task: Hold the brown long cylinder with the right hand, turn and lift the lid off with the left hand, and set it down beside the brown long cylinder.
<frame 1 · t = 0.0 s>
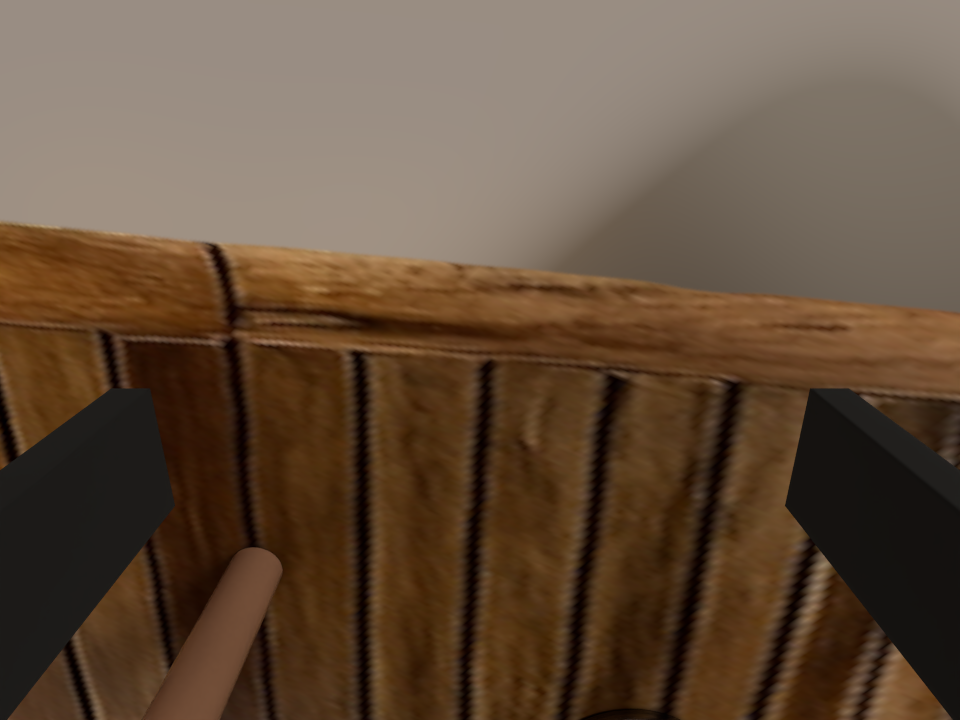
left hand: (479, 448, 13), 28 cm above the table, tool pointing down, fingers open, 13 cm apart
brown long cylinder: (256, 568, 48), on the table
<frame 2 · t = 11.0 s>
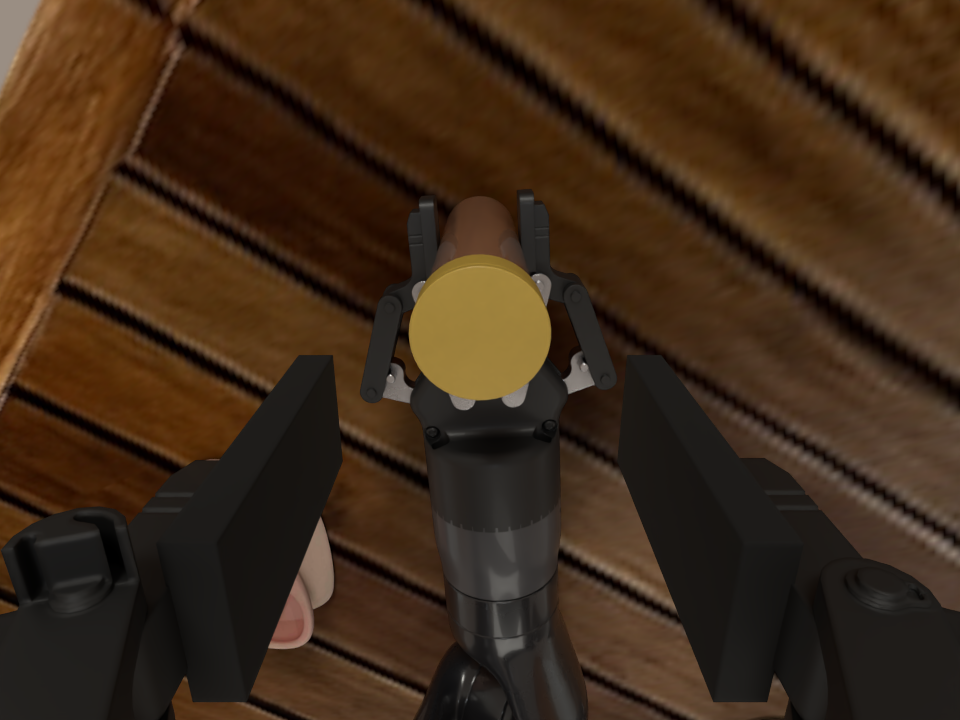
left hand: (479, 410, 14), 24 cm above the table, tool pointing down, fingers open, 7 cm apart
right hand: (475, 196, 30), fingers closed on brown long cylinder, 4 cm apart
anatomical model: (254, 538, 44), on the table
lid: (480, 332, 19), point 18 cm above the table, screwed on, not yet turned
brown long cylinder: (479, 231, 36), on the table, touching right hand
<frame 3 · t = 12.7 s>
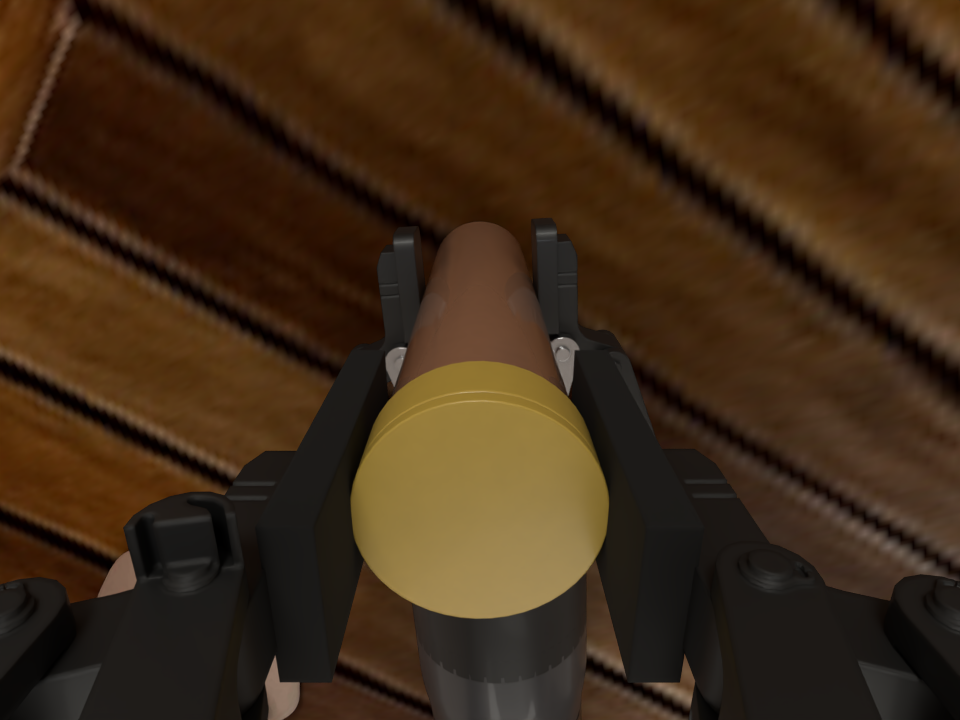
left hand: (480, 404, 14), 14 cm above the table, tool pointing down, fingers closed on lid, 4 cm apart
anatomical model: (200, 640, 36), on the table
lid: (479, 506, 11), point 18 cm above the table, screwed on, not yet turned, touching left hand
brown long cylinder: (480, 266, 28), on the table, touching right hand
when the left hand's fingers open (15 cm above the table, at t = 13.9 s): lid stays where it is, point 19 cm above the table.
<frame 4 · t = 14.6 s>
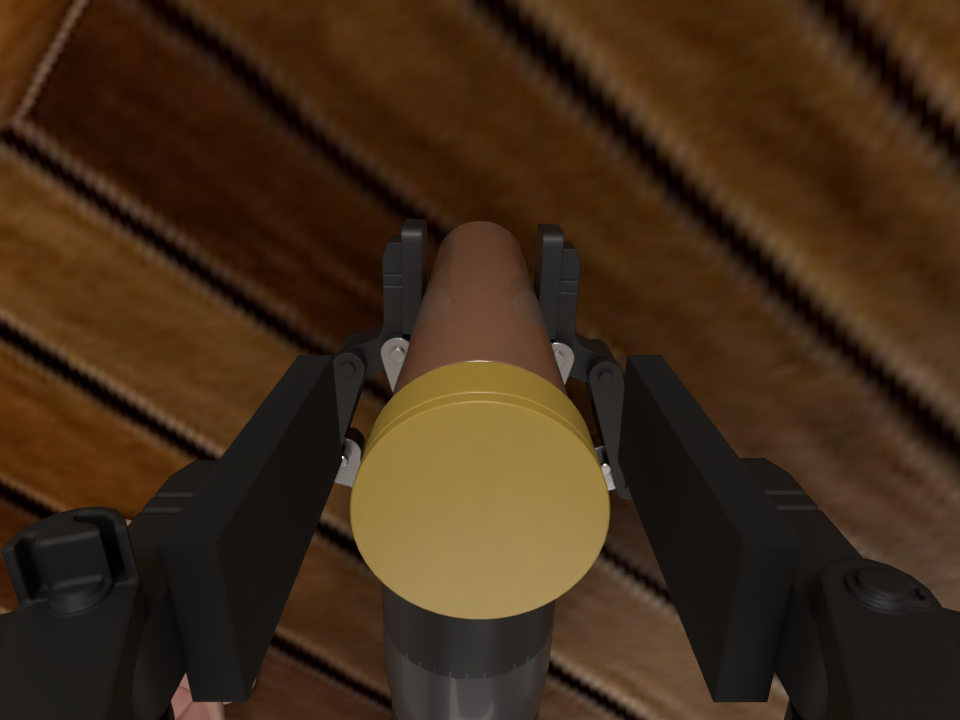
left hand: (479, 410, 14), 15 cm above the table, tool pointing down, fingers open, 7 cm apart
anatomical model: (160, 614, 35), on the table
lid: (479, 507, 11), point 19 cm above the table, turned 77° so far, risen 0.2 cm, still on its thread
brown long cylinder: (479, 265, 28), on the table, touching right hand
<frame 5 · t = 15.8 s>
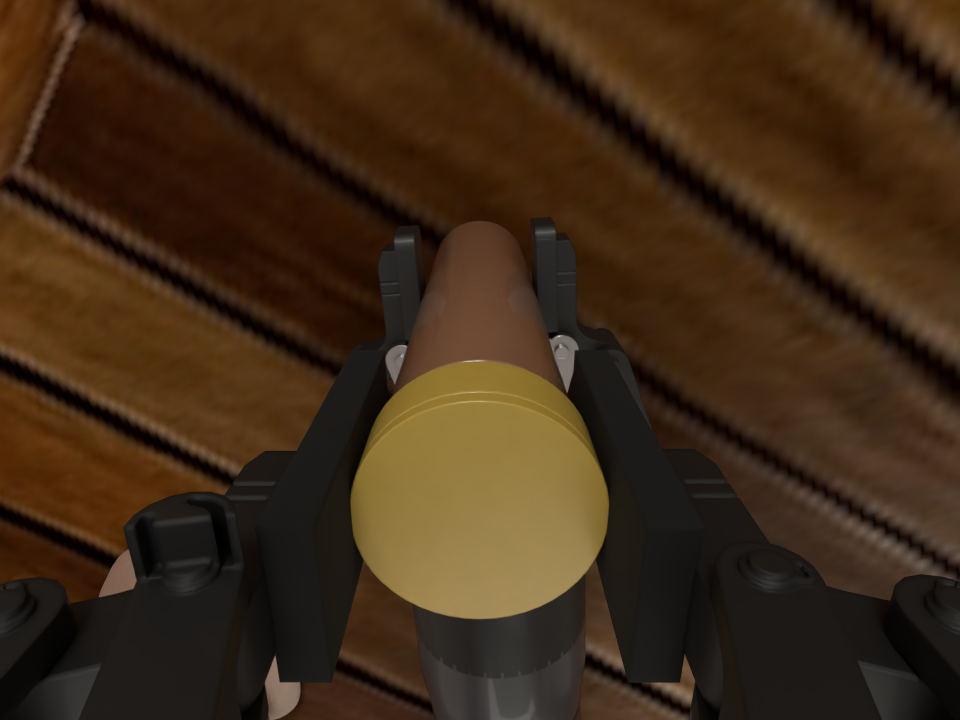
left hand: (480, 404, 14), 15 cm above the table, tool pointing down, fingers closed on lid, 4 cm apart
anatomical model: (201, 637, 36), on the table
lid: (479, 506, 11), point 19 cm above the table, turned 77° so far, risen 0.2 cm, still on its thread, touching left hand
brown long cylinder: (479, 265, 28), on the table, touching right hand
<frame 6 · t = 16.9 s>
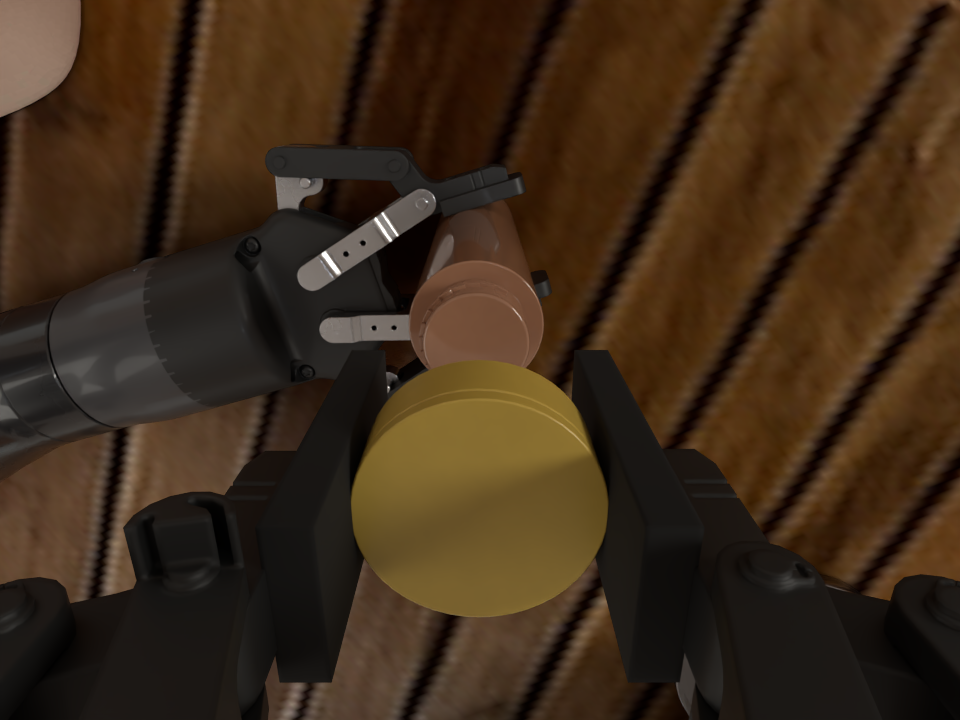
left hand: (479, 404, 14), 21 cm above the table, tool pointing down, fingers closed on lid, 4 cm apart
right hand: (534, 232, 28), fingers closed on brown long cylinder, 4 cm apart
lid: (479, 504, 11), point 25 cm above the table, off its thread, touching left hand
brown long cylinder: (476, 226, 34), on the table, touching right hand
when the left hand's fingers open (0 cm above the table, at t = 22.3 s): lid drops 3 cm, point 1 cm above the table.
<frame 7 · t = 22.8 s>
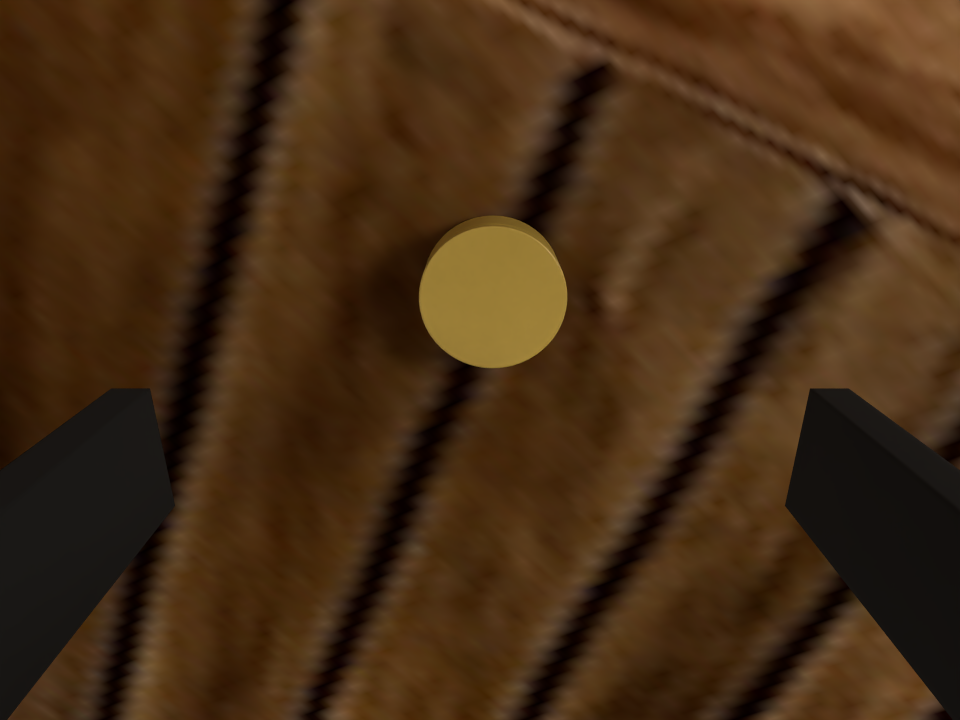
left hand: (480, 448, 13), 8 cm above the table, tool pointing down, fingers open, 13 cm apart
lid: (492, 297, 19), point 1 cm above the table, off its thread
when the right hand's fingers open (6 cm above the table, at t = 22.8 s): brown long cylinder stays where it is, on the table.
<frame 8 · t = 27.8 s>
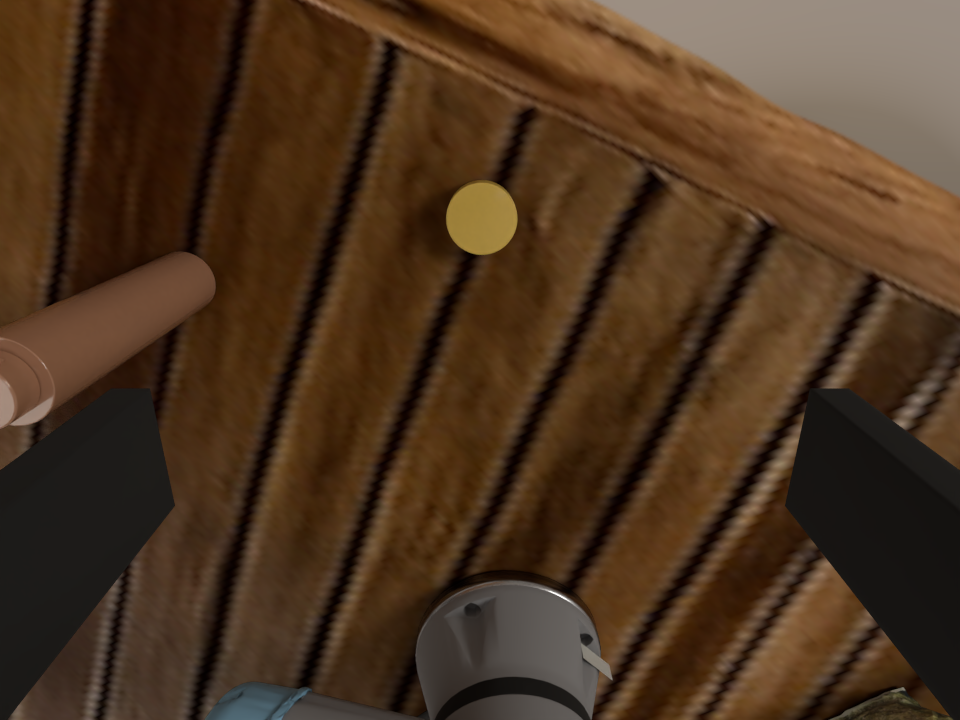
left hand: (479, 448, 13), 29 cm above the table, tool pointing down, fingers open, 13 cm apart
lid: (481, 218, 38), point 1 cm above the table, off its thread
brown long cylinder: (185, 281, 41), on the table
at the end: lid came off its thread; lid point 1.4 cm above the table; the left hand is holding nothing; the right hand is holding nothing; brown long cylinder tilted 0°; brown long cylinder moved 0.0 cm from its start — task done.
